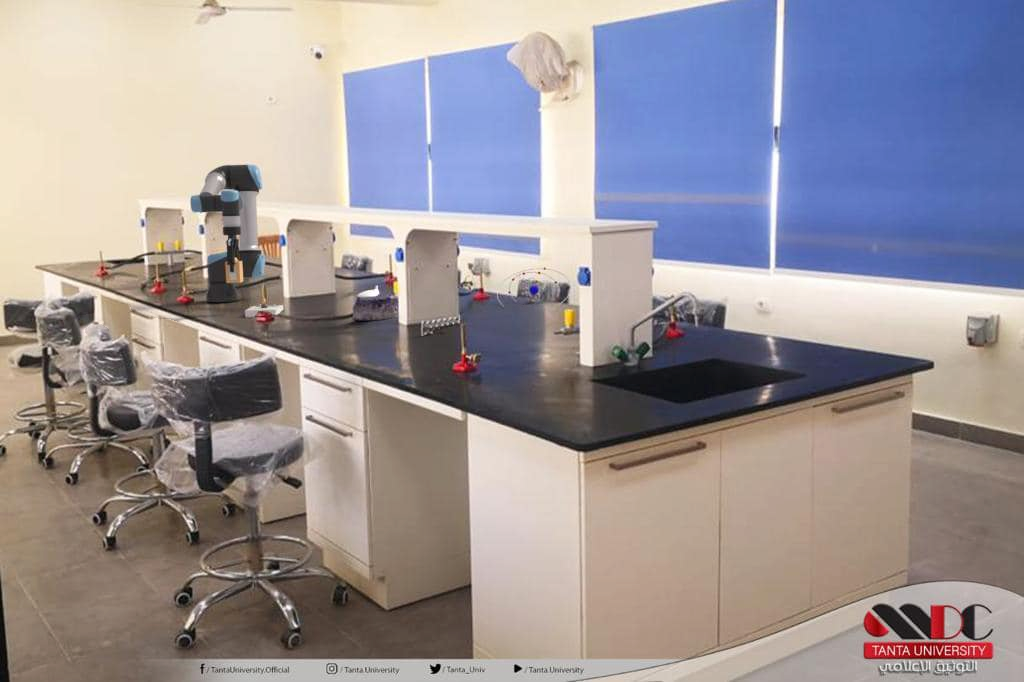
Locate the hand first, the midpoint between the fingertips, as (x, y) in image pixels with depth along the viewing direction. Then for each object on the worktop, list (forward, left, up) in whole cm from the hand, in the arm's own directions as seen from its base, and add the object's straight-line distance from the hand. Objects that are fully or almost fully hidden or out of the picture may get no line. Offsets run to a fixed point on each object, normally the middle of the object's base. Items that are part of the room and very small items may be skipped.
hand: (234, 278), depth 437 cm
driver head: (-42, +59, -13) cm, 73 cm away
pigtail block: (+4, +13, -16) cm, 21 cm away
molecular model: (+65, +93, -18) cm, 115 cm away
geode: (+34, +64, -16) cm, 74 cm away
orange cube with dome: (0, 0, -1) cm, 1 cm away
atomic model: (+9, +118, -15) cm, 119 cm away
